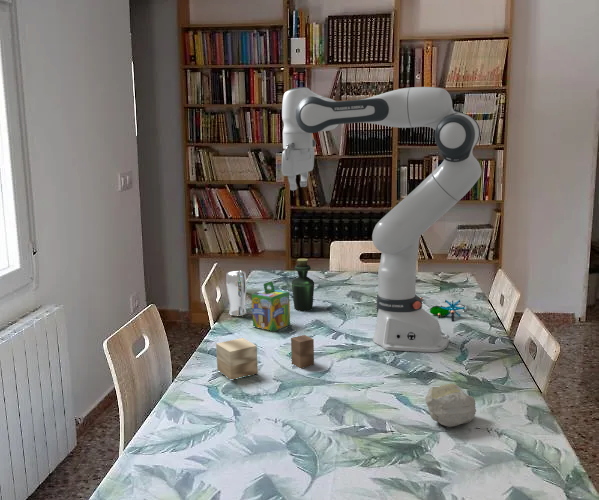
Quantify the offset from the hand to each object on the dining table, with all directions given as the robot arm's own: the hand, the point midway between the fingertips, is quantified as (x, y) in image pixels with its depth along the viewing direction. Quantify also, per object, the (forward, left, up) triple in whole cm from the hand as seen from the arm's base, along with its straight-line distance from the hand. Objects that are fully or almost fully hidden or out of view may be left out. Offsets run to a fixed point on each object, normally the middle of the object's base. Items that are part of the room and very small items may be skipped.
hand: (298, 188), depth 205 cm
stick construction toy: (-40, -29, -46) cm, 68 cm away
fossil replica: (-57, +48, -46) cm, 87 cm away
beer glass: (+28, -9, -46) cm, 55 cm away
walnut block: (-12, +27, -46) cm, 54 cm away
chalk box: (+11, -1, -46) cm, 47 cm away
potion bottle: (+9, -23, -46) cm, 52 cm away
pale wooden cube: (+2, +39, -46) cm, 60 cm away
